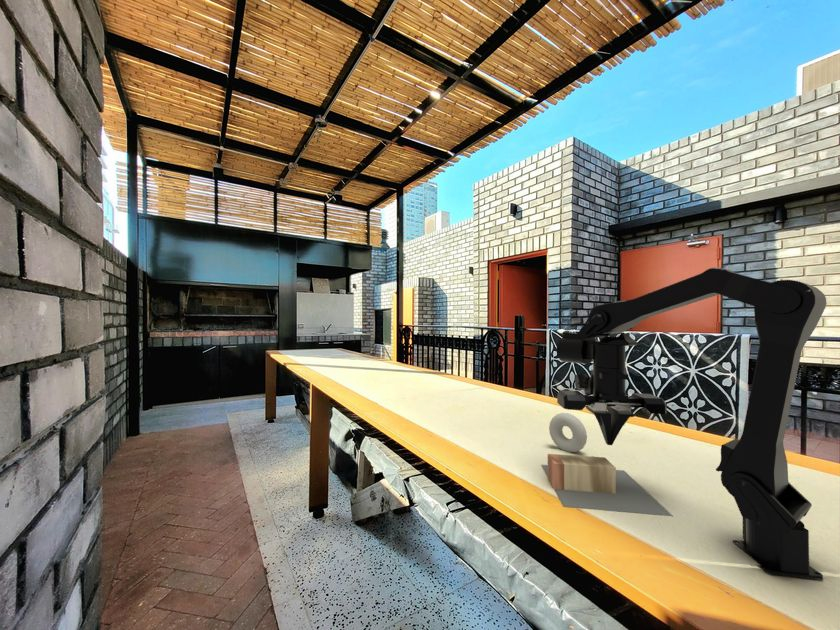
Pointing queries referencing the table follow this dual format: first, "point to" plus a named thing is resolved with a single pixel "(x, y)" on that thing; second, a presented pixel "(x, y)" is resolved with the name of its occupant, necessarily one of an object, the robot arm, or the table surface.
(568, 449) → the donut
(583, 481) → the pine block
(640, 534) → the table surface
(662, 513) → the rubber mat
